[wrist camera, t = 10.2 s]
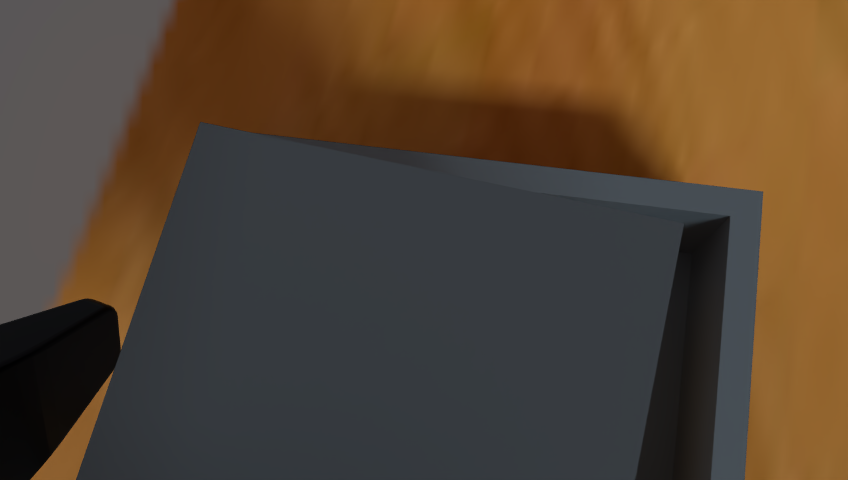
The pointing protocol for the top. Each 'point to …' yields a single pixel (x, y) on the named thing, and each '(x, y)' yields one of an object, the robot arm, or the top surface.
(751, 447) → the top surface
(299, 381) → the plug
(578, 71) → the top surface
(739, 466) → the walled box
